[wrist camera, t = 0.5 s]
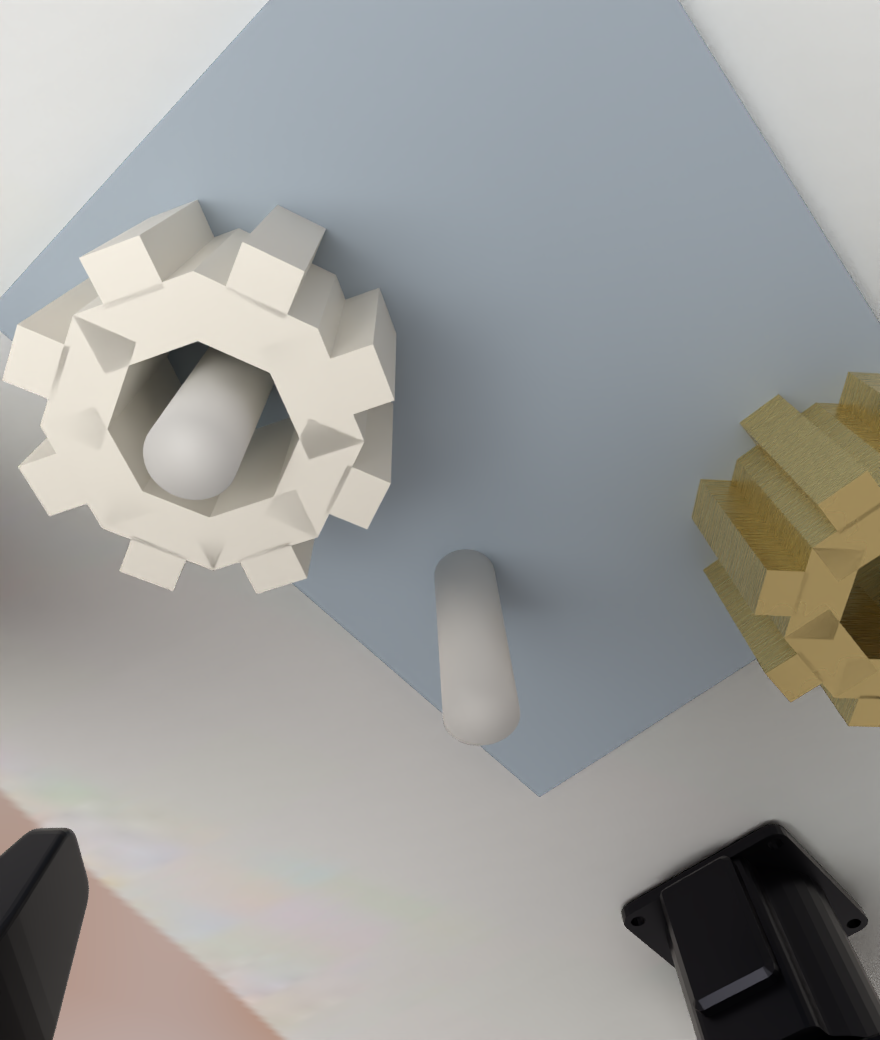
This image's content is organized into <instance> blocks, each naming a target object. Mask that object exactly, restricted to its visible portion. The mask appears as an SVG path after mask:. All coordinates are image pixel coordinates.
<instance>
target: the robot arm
mask: <svg viewBox="0 0 880 1040" xmlns="http://www.w3.org/2000/svg"><path fill="white" fill-rule="evenodd" d="M88 893H89V886H88V878H87V874H86V871H85V867H84V863H83V860H82V856H81V853H80V849H79V845H78V842H77V838H76V836H75V833H74V832H73V831H72V830H71V829H68V828H39V829H34V830H31V831H29V832H28V833H26V834H25V835H24V836H22V838H20V839H19V840H18V841H17V842H16V843H15V844H13V845H12V846H11V847H10V848H9V849H8V850H6V851H5V852H4V853H3V854H2V855H1V856H0V1040H53V1036H54V1033H55V1029H56V1025H57V1021H58V1018H59V1013H60V1010H61V1006H62V1002H63V998H64V994H65V990H66V986H67V982H68V978H69V974H70V970H71V966H72V962H73V958H74V954H75V950H76V946H77V942H78V938H79V934H80V930H81V926H82V922H83V918H84V914H85V910H86V906H87V901H88ZM621 914H622V918H623V922H624V925H625V927H626V928H627V929H628V930H630V931H631V932H632V933H633V934H634V935H636V936H637V937H638V938H639V939H641V940H642V941H643V942H644V943H645V944H647V945H648V946H649V947H650V948H651V949H653V950H654V951H655V952H656V953H658V954H659V955H660V956H661V957H662V958H664V959H665V960H666V961H667V962H669V963H670V964H671V965H672V966H673V967H675V968H676V971H677V975H678V978H679V981H680V985H681V988H682V991H683V995H684V998H685V1001H686V1004H687V1008H688V1011H689V1014H690V1018H691V1021H692V1024H693V1027H694V1031H695V1034H696V1037H697V1040H880V999H879V997H878V996H877V994H876V992H875V990H874V988H873V986H872V984H871V982H870V980H869V978H868V976H867V974H866V972H865V970H864V968H863V966H862V964H861V962H860V960H859V959H858V957H857V955H856V953H855V951H854V949H853V947H852V945H851V943H850V941H849V939H848V936H850V935H852V934H854V933H856V932H858V931H860V930H862V929H863V928H865V926H866V925H867V923H868V919H867V917H866V915H865V914H864V912H863V910H862V908H861V907H860V906H859V905H858V904H857V903H856V902H855V901H854V900H853V899H852V897H851V896H850V895H849V894H848V893H847V892H846V891H845V890H844V889H843V888H842V887H841V886H840V885H839V884H838V883H837V882H836V881H835V880H834V879H833V878H832V877H831V876H830V875H829V874H828V873H827V872H826V871H825V870H824V869H823V868H822V867H821V866H820V865H819V864H818V863H817V862H816V861H815V860H814V859H813V858H812V857H811V856H810V854H809V853H808V852H807V851H806V850H805V849H804V848H803V847H802V846H801V845H800V844H799V843H798V842H797V841H796V840H795V839H794V838H793V837H792V836H791V835H790V834H789V833H788V832H787V831H786V830H785V829H784V828H783V827H782V826H780V825H776V824H771V825H766V826H764V827H762V828H760V829H758V830H757V831H755V832H753V833H751V834H750V835H748V836H746V837H744V838H743V839H741V840H739V841H737V842H736V843H734V844H732V845H730V846H729V847H727V848H725V849H723V850H722V851H720V852H718V853H716V854H715V855H713V856H711V857H709V858H708V859H706V860H704V861H702V862H701V863H699V864H697V865H695V866H694V867H692V868H690V869H688V870H686V871H685V872H683V873H681V874H679V875H678V876H676V877H674V878H672V879H671V880H669V881H667V882H665V883H664V884H662V885H660V886H658V887H657V888H655V889H653V890H651V891H650V892H648V893H646V894H644V895H643V896H641V897H639V898H637V899H636V900H634V901H632V902H630V903H629V904H627V905H626V906H625V907H623V909H622V911H621Z"/></svg>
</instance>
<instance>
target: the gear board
mask: <svg viewBox="0 0 880 1040" xmlns="http://www.w3.org/2000/svg"><path fill="white" fill-rule="evenodd" d="M195 200H198V202H199V204H200V206H201V209H202V211H203V213H204V215H205V218H206V220H207V222H208V224H209V226H210V229H211V231H212V233H213V235H214V237H216V236H219V235H221V234H224V233H227V232H229V231H232V230H235V229H238V228H240V229H242V230H244V231H246V232H248V233H251V232H252V231H253V230H254V229H255V228H256V227H257V226H258V225H259V224H260V223H261V222H262V221H263V220H264V218H265V217H266V216H267V215H268V214H269V213H270V212H271V211H272V210H273V209H274V208H275V207H276V206H277V205H279V206H281V207H283V208H285V209H287V210H289V211H291V212H293V213H295V214H297V215H299V216H301V217H303V218H305V219H307V220H310V221H312V222H314V223H316V224H318V225H320V226H322V227H324V228H326V230H325V232H324V235H323V237H322V240H321V242H320V245H319V247H318V249H317V252H316V254H315V257H314V259H313V261H312V264H314V265H316V266H319V267H321V268H323V269H325V270H327V271H329V272H331V273H333V274H335V275H336V276H337V279H338V282H339V284H340V287H341V289H342V292H343V294H344V297H345V299H348V298H351V297H354V296H357V295H360V294H363V293H365V292H368V291H371V290H374V289H377V288H380V291H381V293H382V296H383V299H384V302H385V304H386V307H387V310H388V312H389V315H390V318H391V321H392V323H393V326H394V329H395V331H396V367H395V400H394V401H391V402H392V403H393V431H392V463H391V484H390V486H389V488H388V490H387V492H386V494H385V496H384V498H383V500H382V502H381V504H380V506H379V507H378V509H377V511H376V513H375V515H374V517H373V519H372V521H371V523H370V525H369V527H368V529H365V528H363V527H360V526H358V525H355V524H353V523H350V522H348V521H345V520H343V519H340V518H338V517H336V516H333V515H331V514H329V516H328V518H327V520H326V522H325V524H324V526H323V528H322V530H321V532H320V534H319V536H318V537H317V538H315V539H314V544H313V550H312V555H311V560H310V565H309V570H308V576H307V579H303V580H300V581H297V582H294V583H292V584H294V585H295V586H296V587H297V588H298V589H299V590H300V591H302V592H303V593H304V594H305V595H306V596H307V597H309V598H310V599H311V600H312V601H313V602H314V603H315V604H317V605H318V606H319V607H320V608H321V609H322V610H324V611H325V612H326V613H327V614H328V615H329V616H331V617H332V618H333V619H334V620H335V621H336V622H337V623H339V624H340V625H341V626H342V627H343V628H344V629H346V630H347V631H348V632H349V633H350V634H351V635H352V636H354V637H355V638H356V639H357V640H358V641H359V642H361V643H362V644H363V645H364V646H365V647H366V648H368V649H369V650H370V651H371V652H372V653H373V654H374V655H376V656H377V657H378V658H379V659H380V660H381V661H383V662H384V663H385V664H386V665H387V666H388V667H389V668H391V669H392V670H393V671H394V672H395V673H396V674H398V675H399V676H400V677H401V678H402V679H403V680H405V681H406V682H407V683H408V684H409V685H410V686H411V687H413V688H414V689H415V690H416V691H417V692H418V693H420V694H421V695H422V696H423V697H424V698H425V699H426V700H428V701H429V702H430V703H431V704H432V705H433V706H435V707H436V708H437V709H438V710H439V711H440V712H442V713H443V722H444V726H445V728H446V730H447V731H448V732H449V734H450V735H451V736H452V737H454V738H455V739H457V740H458V741H460V742H463V743H466V744H469V745H477V746H481V747H482V748H483V749H484V750H485V751H487V752H488V753H489V754H490V755H491V756H492V757H494V758H495V759H496V760H497V761H498V762H499V763H500V764H502V765H503V766H504V767H505V768H506V769H507V770H509V771H510V772H511V773H512V774H513V775H514V776H516V777H517V778H518V779H519V780H520V781H521V782H522V783H524V784H525V785H526V786H527V787H528V788H529V789H531V790H532V791H533V792H534V793H535V794H536V795H537V796H539V797H540V796H542V795H544V794H545V793H547V792H548V791H550V790H551V789H553V788H555V787H556V786H558V785H559V784H561V783H562V782H564V781H566V780H567V779H569V778H570V777H572V776H573V775H575V774H577V773H578V772H580V771H581V770H583V769H584V768H586V767H587V766H589V765H591V764H592V763H594V762H595V761H597V760H598V759H600V758H602V757H603V756H605V755H606V754H608V753H609V752H611V751H613V750H614V749H616V748H617V747H619V746H620V745H622V744H623V743H625V742H627V741H628V740H630V739H631V738H633V737H634V736H636V735H638V734H639V733H641V732H642V731H644V730H645V729H647V728H649V727H650V726H652V725H653V724H655V723H656V722H658V721H660V720H661V719H663V718H664V717H666V716H667V715H669V714H670V713H672V712H674V711H675V710H677V709H678V708H680V707H681V706H683V705H685V704H686V703H688V702H689V701H691V700H692V699H694V698H696V697H697V696H699V695H700V694H702V693H703V692H705V691H707V690H708V689H710V688H711V687H713V686H714V685H716V684H717V683H719V682H721V681H722V680H724V679H725V678H727V677H728V676H730V675H732V674H733V673H735V672H736V671H738V670H739V669H741V668H743V667H744V666H746V665H747V664H749V663H750V662H752V661H753V660H755V659H756V657H755V656H754V654H753V652H752V651H751V649H750V647H749V646H748V644H747V642H746V641H745V639H744V637H743V636H742V634H741V632H740V631H739V629H738V627H737V626H736V624H735V622H734V621H733V619H732V617H731V616H730V614H729V612H728V611H727V609H726V607H725V606H724V604H723V602H722V601H721V599H720V597H719V596H718V594H717V592H716V591H715V589H714V587H713V586H712V584H711V582H710V581H709V579H708V577H707V576H706V574H705V573H704V571H703V569H705V568H706V567H708V566H709V565H710V564H712V563H713V562H715V561H716V560H718V558H717V557H716V555H715V554H714V552H713V550H712V549H711V547H710V546H709V544H708V543H707V541H706V540H705V538H704V537H703V535H702V533H701V532H700V530H699V529H698V527H697V526H696V524H695V523H694V521H693V520H692V518H691V517H692V513H693V508H694V504H695V500H696V495H697V491H698V487H699V483H700V479H712V480H732V476H733V472H734V468H735V464H736V460H737V459H738V458H740V457H741V456H742V455H744V454H745V453H747V452H748V451H749V450H751V449H752V448H754V447H755V446H756V444H755V443H754V442H753V440H752V439H751V438H750V436H749V435H748V434H747V432H746V431H745V430H744V428H743V427H742V426H741V424H740V422H741V421H743V420H744V419H745V418H747V417H748V416H749V415H751V414H752V413H753V412H755V411H756V410H757V409H759V408H760V407H762V406H763V405H764V404H766V403H767V402H768V401H770V400H771V399H772V398H774V397H775V396H777V395H778V394H779V395H780V396H781V397H783V398H784V399H785V400H786V401H787V402H788V403H790V404H791V405H792V406H793V407H794V408H795V409H797V410H798V411H799V412H800V413H802V412H803V411H805V410H806V409H808V408H809V407H810V406H812V405H813V404H814V403H833V404H839V401H840V397H841V394H842V391H843V388H844V384H845V381H846V378H847V374H848V372H862V373H880V323H879V321H878V320H877V318H876V317H875V315H874V313H873V312H872V310H871V308H870V307H869V305H868V304H867V302H866V300H865V299H864V297H863V296H862V294H861V292H860V291H859V289H858V288H857V286H856V284H855V283H854V281H853V280H852V278H851V276H850V275H849V273H848V272H847V270H846V268H845V267H844V265H843V264H842V262H841V260H840V259H839V257H838V256H837V254H836V252H835V251H834V249H833V248H832V246H831V244H830V243H829V241H828V240H827V238H826V236H825V235H824V233H823V232H822V230H821V228H820V227H819V225H818V223H817V222H816V220H815V219H814V217H813V215H812V214H811V212H810V211H809V209H808V207H807V206H806V204H805V203H804V201H803V199H802V198H801V196H800V195H799V193H798V191H797V190H796V188H795V187H794V185H793V183H792V182H791V180H790V179H789V177H788V175H787V174H786V172H785V171H784V169H783V167H782V166H781V164H780V163H779V161H778V159H777V158H776V156H775V155H774V153H773V151H772V150H771V148H770V147H769V145H768V143H767V142H766V140H765V138H764V137H763V135H762V134H761V132H760V130H759V129H758V127H757V126H756V124H755V122H754V121H753V119H752V118H751V116H750V114H749V113H748V111H747V110H746V108H745V106H744V105H743V103H742V102H741V100H740V98H739V97H738V95H737V94H736V92H735V90H734V89H733V87H732V86H731V84H730V82H729V81H728V79H727V78H726V76H725V74H724V73H723V71H722V70H721V68H720V66H719V65H718V63H717V61H716V60H715V58H714V57H713V55H712V53H711V52H710V50H709V49H708V47H707V45H706V44H705V42H704V41H703V39H702V37H701V36H700V34H699V33H698V31H697V29H696V28H695V26H694V25H693V23H692V21H691V20H690V18H689V17H688V15H687V13H686V12H685V10H684V9H683V7H682V5H681V4H680V2H679V1H678V0H269V1H268V2H267V3H266V5H265V6H264V7H263V8H262V9H261V10H260V11H259V12H258V13H257V14H256V16H255V17H254V18H253V19H252V20H251V21H250V22H249V23H248V24H247V26H246V27H245V28H244V29H243V30H242V31H241V32H240V33H239V34H238V35H237V37H236V38H235V39H234V40H233V41H232V42H231V43H230V44H229V45H228V47H227V48H226V49H225V50H224V51H223V52H222V53H221V54H220V55H219V56H218V58H217V59H216V60H215V61H214V62H213V63H212V64H211V65H210V66H209V68H208V69H207V70H206V71H205V72H204V73H203V74H202V75H201V76H200V78H199V79H198V80H197V81H196V82H195V83H194V84H193V85H192V86H191V87H190V89H189V90H188V91H187V92H186V93H185V94H184V95H183V96H182V97H181V99H180V100H179V101H178V102H177V103H176V104H175V105H174V106H173V107H172V108H171V110H170V111H169V112H168V113H167V114H166V115H165V116H164V117H163V118H162V120H161V121H160V122H159V123H158V124H157V125H156V126H155V127H154V128H153V130H152V131H151V132H150V133H149V134H148V135H147V136H146V137H145V138H144V139H143V141H142V142H141V143H140V144H139V145H138V146H137V147H136V148H135V149H134V151H133V152H132V153H131V154H130V155H129V156H128V157H127V158H126V159H125V160H124V162H123V163H122V164H121V165H120V166H119V167H118V168H117V169H116V170H115V172H114V173H113V174H112V175H111V176H110V177H109V178H108V179H107V180H106V181H105V183H104V184H103V185H102V186H101V187H100V188H99V189H98V190H97V191H96V193H95V194H94V195H93V196H92V197H91V198H90V199H89V200H88V201H87V203H86V204H85V205H84V206H83V207H82V208H81V209H80V210H79V211H78V212H77V214H76V215H75V216H74V217H73V218H72V219H71V220H70V221H69V222H68V224H67V225H66V226H65V227H64V228H63V229H62V230H61V231H60V232H59V233H58V235H57V236H56V237H55V238H54V239H53V240H52V241H51V242H50V243H49V245H48V246H47V247H46V248H45V249H44V250H43V251H42V252H41V253H40V254H39V256H38V257H37V258H36V259H35V260H34V261H33V262H32V263H31V264H30V266H29V267H28V268H27V269H26V270H25V271H24V272H23V273H22V274H21V276H20V277H19V278H18V279H17V280H16V281H15V282H14V283H13V284H12V285H11V287H10V288H9V289H8V290H7V291H6V292H5V293H4V294H3V295H2V297H1V298H0V331H1V332H2V333H3V334H4V335H6V336H7V337H8V338H9V339H10V340H11V341H13V338H14V334H15V331H16V327H17V324H19V323H20V322H22V321H23V320H25V319H26V318H28V317H30V316H31V315H33V314H34V313H36V312H37V311H39V310H40V309H42V308H43V307H45V306H46V305H48V304H49V303H51V302H53V301H54V300H56V299H57V298H59V297H60V296H62V295H63V294H65V293H66V292H68V291H69V290H71V289H72V288H74V287H76V286H77V285H79V284H80V283H82V282H83V281H85V280H86V279H88V278H89V276H88V274H87V272H86V271H85V269H84V267H83V265H82V263H81V261H80V259H79V257H81V256H83V255H85V254H86V253H88V252H90V251H92V250H93V249H95V248H97V247H99V246H101V245H102V244H104V243H106V242H108V241H109V240H111V239H113V238H115V237H116V236H118V235H120V234H122V233H123V232H125V231H127V230H129V229H130V228H132V227H134V226H136V225H137V224H139V223H141V222H143V221H144V220H146V219H148V218H150V217H152V216H155V215H158V214H160V213H163V212H166V211H168V210H171V209H173V208H176V207H179V206H181V205H184V204H187V203H189V202H192V201H195ZM167 358H168V360H169V362H170V363H171V365H172V367H173V369H174V371H175V373H176V375H177V377H178V379H179V381H180V383H181V385H182V386H181V387H180V389H179V390H178V392H177V393H176V395H175V396H174V397H173V399H172V400H171V402H170V403H169V404H168V406H167V407H166V409H165V410H164V411H163V413H162V414H161V416H160V417H159V419H158V420H157V421H156V423H155V424H154V426H153V427H152V428H151V430H150V431H149V433H148V434H147V436H146V439H145V442H144V446H143V458H144V463H145V466H146V468H147V471H148V473H149V474H150V476H151V477H152V479H153V480H154V481H155V482H156V483H157V484H158V485H159V486H160V487H161V488H163V489H164V490H165V491H167V492H169V493H170V494H172V495H175V496H177V497H180V498H184V499H189V500H203V499H208V498H212V497H214V496H217V495H218V494H220V493H222V492H223V491H224V490H226V489H227V488H228V487H229V486H230V484H231V483H232V482H233V480H234V478H235V476H236V473H237V471H238V469H239V466H240V464H241V461H242V459H243V457H244V454H245V452H246V450H247V447H248V445H249V442H250V440H251V438H252V435H253V433H254V430H255V429H257V428H260V427H263V426H266V425H269V424H272V423H275V422H278V421H280V420H283V419H286V418H289V417H290V416H289V414H288V412H287V409H286V407H285V405H284V403H283V401H282V398H281V396H280V394H279V392H278V390H277V387H276V385H275V383H274V381H273V378H272V376H271V374H270V373H269V372H267V371H264V370H262V369H260V368H258V367H255V366H253V365H251V364H249V363H246V362H244V361H242V360H240V359H237V358H235V357H233V356H231V355H228V354H226V353H224V352H222V351H219V350H217V349H215V348H213V347H210V346H208V345H206V344H203V343H201V342H199V341H197V342H194V343H191V344H188V345H185V346H183V347H180V348H177V349H174V350H171V351H169V354H168V357H167Z"/></svg>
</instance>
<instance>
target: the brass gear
mask: <svg viewBox="0 0 880 1040" xmlns="http://www.w3.org/2000/svg"><path fill="white" fill-rule="evenodd" d="M740 424H741V426H742V427H743V428H744V430H745V431H746V432H747V434H748V435H749V436H750V438H751V439H752V440H753V442H754V443H755V444H756V446H755V447H754V448H752V449H751V450H749V451H748V452H747V453H745V454H744V455H742V456H741V457H740V458H738V459H737V460H736V464H735V468H734V472H733V476H732V480H712V479H700V483H699V487H698V491H697V495H696V500H695V504H694V508H693V513H692V517H691V518H692V520H693V521H694V523H695V524H696V526H697V527H698V529H699V530H700V532H701V533H702V535H703V537H704V538H705V540H706V541H707V543H708V544H709V546H710V547H711V549H712V550H713V552H714V554H715V555H716V557H717V558H718V560H716V561H715V562H713V563H712V564H710V565H709V566H708V567H706V568H705V569H703V571H704V573H705V574H706V576H707V577H708V579H709V581H710V582H711V584H712V586H713V587H714V589H715V591H716V592H717V594H718V596H719V597H720V599H721V601H722V602H723V604H724V606H725V607H726V609H727V611H728V612H729V614H730V616H731V617H732V619H733V621H734V622H735V624H736V626H737V627H738V629H739V631H740V632H741V634H742V636H743V637H744V639H745V641H746V642H747V644H748V646H749V647H750V649H751V651H752V652H753V654H754V656H755V657H756V659H757V661H758V662H759V664H760V666H761V667H762V669H763V671H764V672H765V674H766V675H767V676H768V677H769V678H770V680H771V681H772V682H773V683H774V684H775V685H776V686H777V688H778V689H779V690H780V691H781V692H782V693H783V694H784V696H785V697H786V698H787V699H788V700H789V701H790V702H792V701H794V700H796V699H797V698H799V697H800V696H802V695H804V694H805V693H807V692H809V691H810V690H812V689H813V688H815V687H817V686H818V685H821V687H822V688H823V690H824V691H825V693H826V694H827V695H828V697H829V698H830V700H831V701H832V703H833V704H834V706H835V707H836V709H837V710H838V712H839V713H840V715H841V716H842V718H843V719H844V720H845V722H846V723H847V725H848V726H865V727H880V373H862V372H848V374H847V378H846V381H845V384H844V388H843V391H842V394H841V397H840V401H839V404H833V403H814V404H813V405H812V406H810V407H809V408H808V409H806V410H805V411H803V412H802V413H800V412H799V411H798V410H797V409H795V408H794V407H793V406H792V405H791V404H790V403H788V402H787V401H786V400H785V399H784V398H783V397H781V396H780V395H779V394H778V395H777V396H775V397H774V398H772V399H771V400H770V401H768V402H767V403H766V404H764V405H763V406H762V407H760V408H759V409H757V410H756V411H755V412H753V413H752V414H751V415H749V416H748V417H747V418H745V419H744V420H743V421H741V422H740Z"/></svg>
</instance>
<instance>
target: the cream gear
mask: <svg viewBox="0 0 880 1040" xmlns="http://www.w3.org/2000/svg"><path fill="white" fill-rule="evenodd" d="M325 230H326V228H324V227H322V226H320V225H318V224H316V223H314V222H312V221H310V220H307V219H305V218H303V217H301V216H299V215H297V214H295V213H293V212H291V211H289V210H287V209H285V208H283V207H281V206H279V205H277V206H276V207H275V208H274V209H273V210H272V211H271V212H270V213H269V214H268V215H267V216H266V217H265V218H264V220H263V221H262V222H261V223H260V224H259V225H258V226H257V227H256V228H255V229H254V230H253V231H252V232H251V233H248V232H246V231H244V230H242V229H240V228H238V229H235V230H232V231H229V232H227V233H224V234H221V235H219V236H216V237H214V235H213V233H212V231H211V229H210V226H209V224H208V222H207V220H206V218H205V215H204V213H203V211H202V209H201V206H200V204H199V202H198V200H195V201H192V202H189V203H187V204H184V205H181V206H179V207H176V208H173V209H171V210H168V211H166V212H163V213H160V214H158V215H155V216H152V217H150V218H148V219H146V220H144V221H143V222H141V223H139V224H137V225H136V226H134V227H132V228H130V229H129V230H127V231H125V232H123V233H122V234H120V235H118V236H116V237H115V238H113V239H111V240H109V241H108V242H106V243H104V244H102V245H101V246H99V247H97V248H95V249H93V250H92V251H90V252H88V253H86V254H85V255H83V256H81V257H79V259H80V261H81V263H82V265H83V267H84V269H85V271H86V272H87V274H88V276H89V278H88V279H86V280H85V281H83V282H82V283H80V284H79V285H77V286H76V287H74V288H72V289H71V290H69V291H68V292H66V293H65V294H63V295H62V296H60V297H59V298H57V299H56V300H54V301H53V302H51V303H49V304H48V305H46V306H45V307H43V308H42V309H40V310H39V311H37V312H36V313H34V314H33V315H31V316H30V317H28V318H26V319H25V320H23V321H22V322H20V323H19V324H17V327H16V331H15V334H14V338H13V342H12V346H11V349H10V353H9V357H8V360H7V364H6V368H5V372H4V375H3V379H2V381H5V382H7V383H9V384H12V385H14V386H17V387H19V388H22V389H24V390H27V391H29V392H32V393H34V394H36V395H39V396H41V397H44V398H46V399H48V401H47V404H46V407H45V411H44V414H43V417H42V421H41V424H40V427H41V429H42V430H43V432H44V434H45V435H46V439H45V440H44V441H43V442H42V443H41V444H40V445H39V446H38V447H37V448H36V449H35V450H34V451H33V452H32V453H31V454H30V455H29V456H28V457H27V458H26V459H25V460H24V461H23V462H22V463H21V464H20V465H19V466H18V468H19V470H20V471H21V473H22V474H23V476H24V477H25V479H26V481H27V482H28V484H29V485H30V487H31V488H32V490H33V492H34V493H35V495H36V496H37V498H38V499H39V501H40V503H41V504H42V506H43V507H44V509H45V510H46V512H47V514H48V515H49V516H52V515H55V514H58V513H61V512H64V511H67V510H70V509H73V508H76V507H79V506H82V505H85V504H87V505H88V506H89V508H90V510H91V511H92V513H93V514H94V516H95V518H96V519H97V521H98V523H99V524H100V526H101V528H102V529H104V530H107V531H110V532H112V533H115V534H118V535H120V536H123V537H126V538H128V539H131V541H130V544H129V546H128V549H127V552H126V554H125V557H124V560H123V562H122V565H121V568H120V570H119V572H122V573H125V574H127V575H130V576H133V577H136V578H138V579H141V580H144V581H147V582H149V583H152V584H155V585H157V586H160V587H163V588H166V589H168V590H171V591H173V590H174V588H175V586H176V583H177V581H178V579H179V577H180V574H181V572H182V570H183V568H184V565H185V563H186V561H189V562H192V563H195V564H197V565H200V566H203V567H205V568H208V569H210V570H213V571H214V570H217V569H220V568H223V567H226V566H229V565H232V564H236V563H239V562H240V564H241V566H242V568H243V569H244V571H245V573H246V575H247V577H248V579H249V581H250V583H251V585H252V587H253V588H254V590H255V592H256V594H259V593H262V592H265V591H268V590H271V589H275V588H278V587H281V586H284V585H287V584H291V583H294V582H297V581H300V580H303V579H307V576H308V570H309V565H310V560H311V555H312V550H313V544H314V539H315V538H317V537H318V536H319V534H320V532H321V530H322V528H323V526H324V524H325V522H326V520H327V518H328V516H329V514H331V515H333V516H336V517H338V518H340V519H343V520H345V521H348V522H350V523H353V524H355V525H358V526H360V527H363V528H365V529H368V527H369V525H370V523H371V521H372V519H373V517H374V515H375V513H376V511H377V509H378V507H379V506H380V504H381V502H382V500H383V498H384V496H385V494H386V492H387V490H388V488H389V486H390V484H391V463H392V431H393V403H392V402H391V401H394V400H395V367H396V331H395V329H394V326H393V323H392V321H391V318H390V315H389V312H388V310H387V307H386V304H385V302H384V299H383V296H382V293H381V291H380V288H377V289H374V290H371V291H368V292H365V293H363V294H360V295H357V296H354V297H351V298H348V299H345V297H344V294H343V292H342V289H341V287H340V284H339V282H338V279H337V276H336V275H335V274H333V273H331V272H329V271H327V270H325V269H323V268H321V267H319V266H316V265H314V264H312V261H313V259H314V257H315V254H316V252H317V249H318V247H319V245H320V242H321V240H322V237H323V235H324V232H325ZM197 341H199V342H201V343H203V344H206V345H208V346H210V347H213V348H215V349H217V350H219V351H222V352H224V353H226V354H228V355H231V356H233V357H235V358H237V359H240V360H242V361H244V362H246V363H249V364H251V365H253V366H255V367H258V368H260V369H262V370H264V371H267V372H269V373H270V374H271V376H272V378H273V381H274V383H275V385H276V387H277V390H278V392H279V394H280V396H281V398H282V401H283V403H284V405H285V407H286V409H287V412H288V414H289V416H290V417H289V418H286V419H283V420H280V421H278V422H275V423H272V424H269V425H266V426H263V427H260V428H257V429H255V430H254V433H253V435H252V438H251V440H250V442H249V445H248V447H247V450H246V452H245V454H244V457H243V459H242V461H241V464H240V466H239V469H238V471H237V473H236V476H235V478H234V480H233V482H232V483H231V484H230V486H229V487H228V488H227V489H226V490H224V491H223V492H222V493H220V494H218V495H217V496H214V497H212V498H208V499H203V500H189V499H184V498H180V497H177V496H175V495H172V494H170V493H169V492H167V491H165V490H164V489H163V488H161V487H160V486H159V485H158V484H157V483H156V482H155V481H154V480H153V479H152V477H151V476H150V474H149V473H148V471H147V468H146V466H145V463H144V458H143V446H144V442H145V439H146V436H147V434H148V433H149V431H150V430H151V428H152V427H153V426H154V424H155V423H156V421H157V420H158V419H159V417H160V416H161V414H162V413H163V411H164V410H165V409H166V407H167V406H168V404H169V403H170V402H171V400H172V399H173V397H174V396H175V395H176V393H177V392H178V390H179V389H180V387H181V386H182V385H181V383H180V381H179V379H178V377H177V375H176V373H175V371H174V369H173V367H172V365H171V363H170V362H169V360H168V358H167V357H168V354H169V351H171V350H174V349H177V348H180V347H183V346H185V345H188V344H191V343H194V342H197Z"/></svg>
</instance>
